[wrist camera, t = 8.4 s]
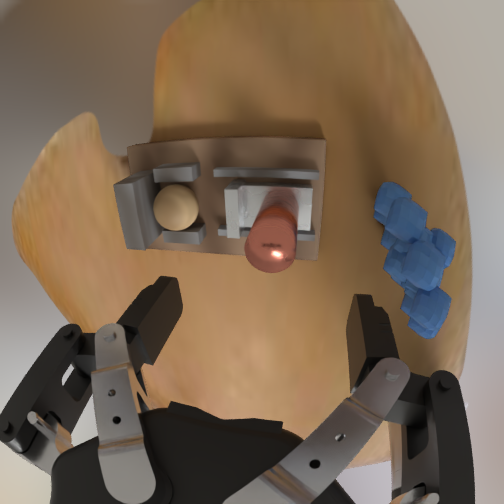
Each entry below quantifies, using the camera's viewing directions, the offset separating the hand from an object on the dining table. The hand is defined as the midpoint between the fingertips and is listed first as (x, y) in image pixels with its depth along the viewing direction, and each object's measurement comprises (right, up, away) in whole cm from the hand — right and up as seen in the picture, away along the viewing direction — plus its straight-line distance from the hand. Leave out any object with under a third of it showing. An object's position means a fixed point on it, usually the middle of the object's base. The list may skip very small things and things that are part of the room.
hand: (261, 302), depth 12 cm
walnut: (-7, +7, +12) cm, 16 cm away
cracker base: (-3, +7, +13) cm, 16 cm away
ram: (+1, +6, +11) cm, 13 cm away
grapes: (+14, +5, +12) cm, 19 cm away
